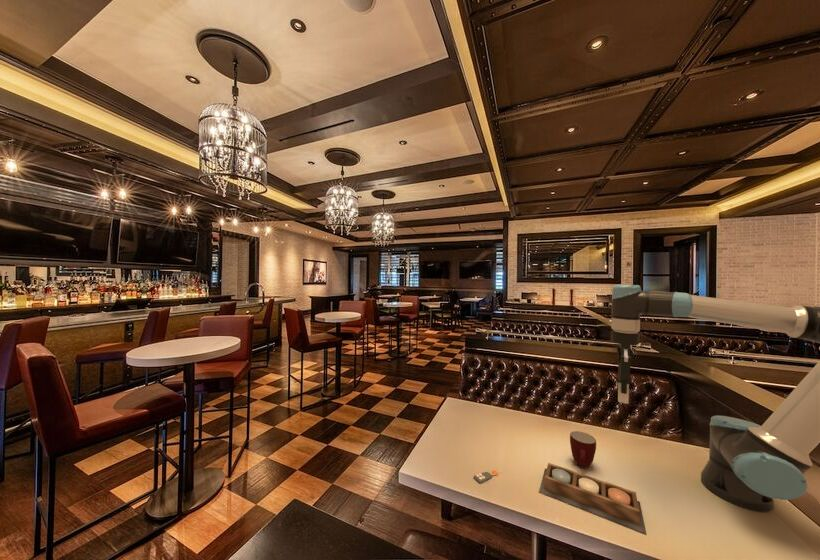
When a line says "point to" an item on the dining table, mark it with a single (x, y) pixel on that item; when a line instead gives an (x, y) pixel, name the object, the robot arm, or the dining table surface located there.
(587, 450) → the mug
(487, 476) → the key chain
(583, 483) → the cream egg
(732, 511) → the dining table surface
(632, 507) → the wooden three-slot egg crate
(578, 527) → the dining table surface
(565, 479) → the slate egg
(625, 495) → the brown oval piece
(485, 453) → the dining table surface
